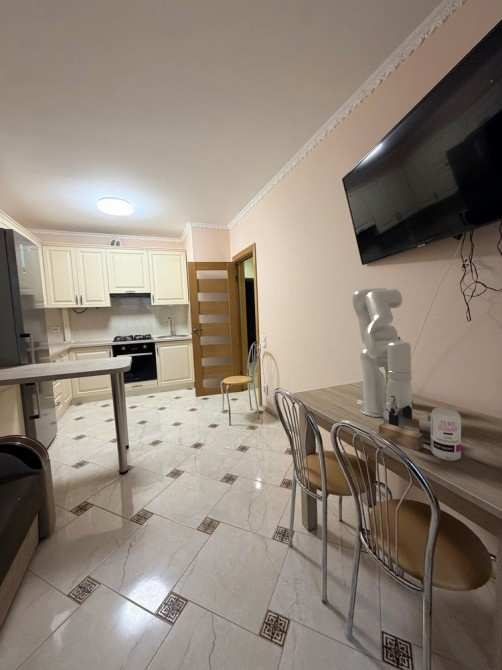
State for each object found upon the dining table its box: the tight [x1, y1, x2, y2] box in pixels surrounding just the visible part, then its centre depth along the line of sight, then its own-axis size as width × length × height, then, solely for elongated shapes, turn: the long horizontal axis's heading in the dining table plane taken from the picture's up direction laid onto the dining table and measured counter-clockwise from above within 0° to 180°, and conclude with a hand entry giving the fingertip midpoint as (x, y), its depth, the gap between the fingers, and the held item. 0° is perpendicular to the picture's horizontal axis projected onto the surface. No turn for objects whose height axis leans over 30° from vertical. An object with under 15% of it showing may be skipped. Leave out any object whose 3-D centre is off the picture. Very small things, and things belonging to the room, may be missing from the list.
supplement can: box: [430, 407, 462, 462], centre depth 89 cm, size 8×8×15 cm
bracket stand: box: [383, 408, 431, 445], centre depth 105 cm, size 19×8×8 cm, turn 35°
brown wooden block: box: [378, 422, 424, 452], centre depth 100 cm, size 14×4×5 cm, turn 36°
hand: (400, 421), depth 98 cm, fingers open, 9 cm apart
